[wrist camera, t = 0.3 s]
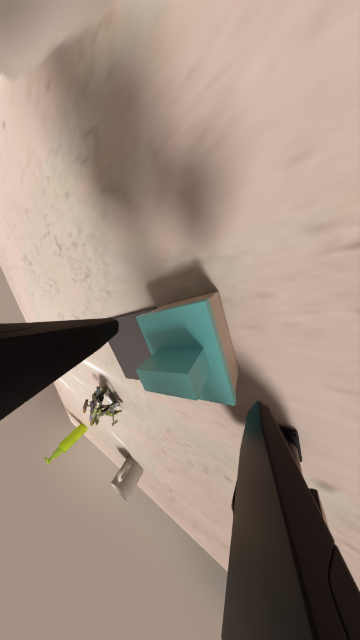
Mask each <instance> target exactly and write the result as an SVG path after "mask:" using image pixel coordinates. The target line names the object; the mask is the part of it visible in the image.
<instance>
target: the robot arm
mask: <svg viewBox="0 0 360 640" xmlns="http://www.w3.org/2000/svg"><path fill="white" fill-rule="evenodd" d="M118 331H119V322H118V320H116V319H114V318H102V319H85V320H67V321H50V322H33V323H8V324H0V420H2V419H3V418H5V417H6V416H7V415H9V414H10V413H11V412H13V411H14V410H15V409H17V408H18V407H20V406H21V405H22V404H24V402H26V401H28V400H29V399H31V398H32V397H33V396H35V395H36V394H38V393H39V392H40V391H42V390H43V389H44V388H46V387H47V386H49V385H50V384H51V383H53V382H54V381H56V380H57V379H58V378H60V377H61V376H63V375H64V374H65V373H67V372H68V371H70V370H71V369H72V368H74V367H75V366H76V365H78V364H79V363H81V362H82V361H83V360H85V359H86V358H88V357H89V356H90V355H92V354H93V353H94V352H96V351H97V350H99V349H100V348H101V347H102V346H103V345H105V344H106V343H107V342H108V341H109V340H110V339H112V338H113V337H114V336H115V335H116V334H117V333H118ZM300 462H302V456H301V450H300V443H299V436H298V432H297V431H296V430H293V429H288V428H284V427H279V426H278V425H277V423H276V421H275V419H274V417H273V415H272V413H271V411H270V409H269V407H268V406H267V405H266V404H264V403H263V402H261V401H257V402H256V403H255V404H254V405H253V406H252V407H251V408H250V410H249V412H248V415H247V420H246V424H245V429H244V434H243V438H242V443H241V448H240V457H239V466H238V476H237V482H236V486H235V491H234V495H233V500H232V510H233V526H232V536H231V546H230V556H229V566H228V576H227V585H226V595H225V606H224V615H223V625H222V636H221V637H222V640H360V591H359V589H358V587H357V585H356V583H355V581H354V579H353V577H352V575H351V573H350V571H349V569H348V567H347V565H346V563H345V561H344V559H343V557H342V555H341V553H340V551H339V549H338V547H337V546H336V545H335V544H334V539H333V537H332V535H331V533H330V531H329V528H328V524H327V520H326V516H325V513H324V510H323V507H322V504H321V501H320V498H319V495H318V491H317V490H316V489H313V488H311V489H310V488H308V486H307V484H306V482H305V480H304V478H303V475H302V470H301V465H300Z"/></svg>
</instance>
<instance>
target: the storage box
mask: <svg viewBox="0 0 360 640" xmlns="http://www.w3.org/2000/svg"><path fill="white" fill-rule="evenodd" d="M207 298H209V300H210V304H211V308H212V311H213V315H214V319H215V322H216V326H217V329H218V333H219V337H220V340H221V344H222V347H223V351H224V355H225V358H226V362H227V366H228V369H229V373H230V376H231V380H232V384H233V387H234V391H236V385H237V379H238V374H239V369H238V365H237V361H236V357H235V353H234V349H233V345H232V341H231V337H230V333H229V329H228V326H227V322H226V318H225V314H224V310H223V306H222V302H221V298H220V294H219V291H217V292H213V293H209V294H205V295H201V296H197V297H194V298H190V299H186V300H182V301H178V302H174V303H171V304H167V305H163V306H161V307H159V308H157V309H155V310H153V311H158V310H162V309H166V308H170V307H174V306H178V305H182V304H187V303H191V302H195V301H199V300H203V299H207ZM153 311H151V312H153Z"/></svg>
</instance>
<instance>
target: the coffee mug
mask: <svg viewBox="0 0 360 640" xmlns="http://www.w3.org/2000/svg"><path fill="white" fill-rule="evenodd" d="M142 473H143V470H142V468H141V466H140V465H139V464H138V463H137V462H136V461H135V460H134V459H133V458H131V457H128V458H127V459H126V461H125V462H124V464H123V465H122V467H121V468H120V470H119V471H118V473H117V475H116V476H115V478H114V479H113V481H112V482H111V484H112V486H113V488H114V489H115V490H116V491H117V492H118V494H119V495H120V496H121V497H122V498H123V499H125V500H126V501H128V499H129V497H130V495H131V493H132V492H133V490H134V488H135V486H136V484H137V482H138V480H139V479H140V477H141V475H142Z"/></svg>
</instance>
